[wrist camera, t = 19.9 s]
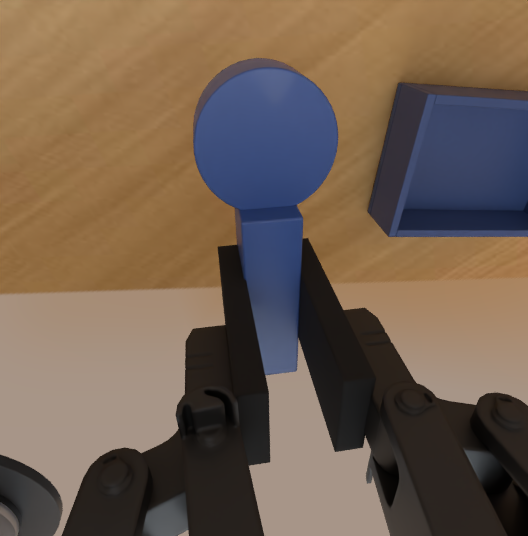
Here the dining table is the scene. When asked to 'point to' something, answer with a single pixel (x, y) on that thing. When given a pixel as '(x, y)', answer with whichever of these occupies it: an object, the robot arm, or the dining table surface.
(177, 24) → the dining table surface
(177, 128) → the dining table surface
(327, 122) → the blue spoon
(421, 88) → the blue bin
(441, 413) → the robot arm
